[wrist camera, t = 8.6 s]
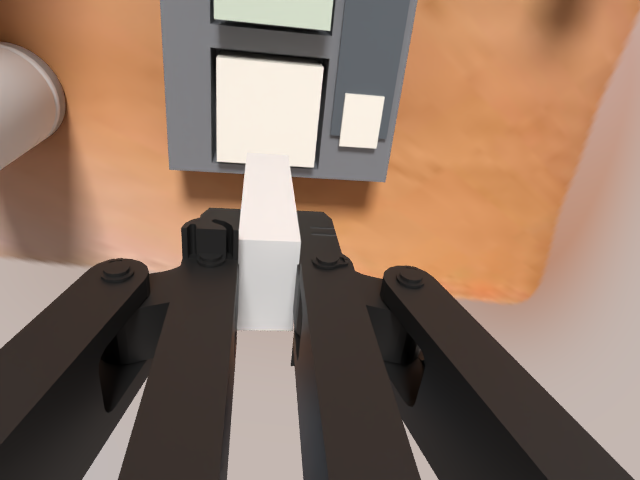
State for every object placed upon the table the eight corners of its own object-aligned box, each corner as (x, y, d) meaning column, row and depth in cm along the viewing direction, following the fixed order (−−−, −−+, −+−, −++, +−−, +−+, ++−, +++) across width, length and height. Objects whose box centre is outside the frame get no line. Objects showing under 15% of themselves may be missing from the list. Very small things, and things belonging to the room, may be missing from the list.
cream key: (221, 145, 31) (216, 161, 28) (221, 50, 28) (216, 57, 25) (309, 150, 32) (313, 167, 29) (317, 59, 29) (323, 67, 26)
